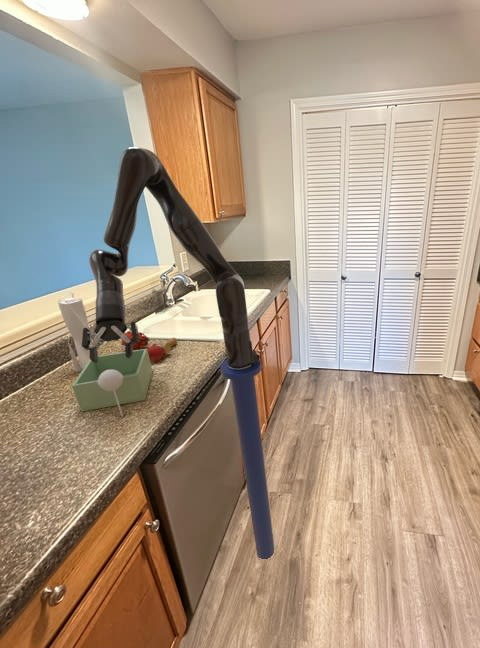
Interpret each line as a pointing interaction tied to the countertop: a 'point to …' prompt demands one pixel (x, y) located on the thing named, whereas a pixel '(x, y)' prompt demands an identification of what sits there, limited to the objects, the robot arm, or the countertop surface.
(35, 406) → the countertop surface
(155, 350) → the kendama
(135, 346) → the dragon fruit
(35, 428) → the countertop surface
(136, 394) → the bin
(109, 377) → the lollipop
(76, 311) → the skyscraper
